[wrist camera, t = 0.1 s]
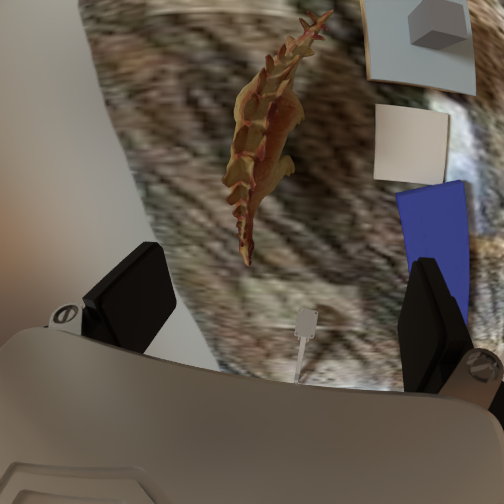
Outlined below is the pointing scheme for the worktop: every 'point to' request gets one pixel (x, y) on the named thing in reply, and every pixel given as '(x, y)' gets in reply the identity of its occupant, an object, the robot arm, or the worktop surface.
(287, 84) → the toy
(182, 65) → the worktop surface
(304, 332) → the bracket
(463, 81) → the lid
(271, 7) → the worktop surface
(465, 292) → the long blue plank
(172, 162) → the worktop surface
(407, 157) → the mat
